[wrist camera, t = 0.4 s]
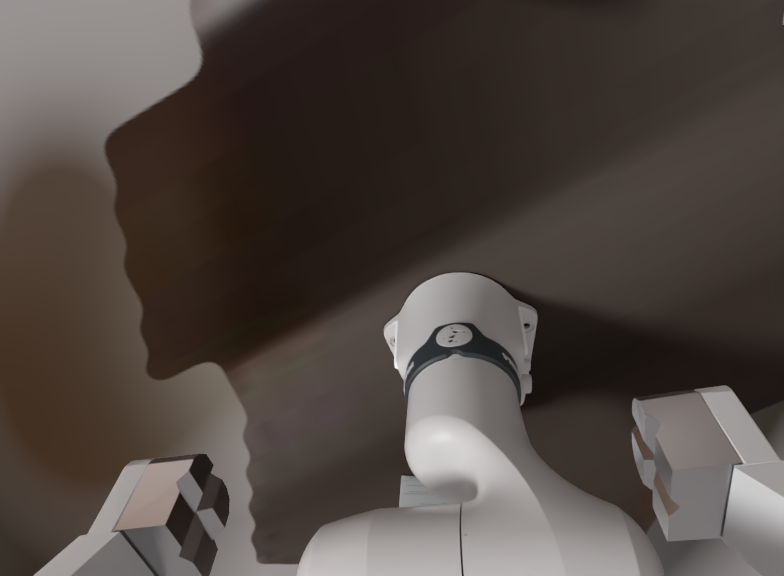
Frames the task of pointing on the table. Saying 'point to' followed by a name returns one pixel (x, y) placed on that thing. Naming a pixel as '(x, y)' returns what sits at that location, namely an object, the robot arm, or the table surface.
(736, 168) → the table surface
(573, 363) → the table surface
